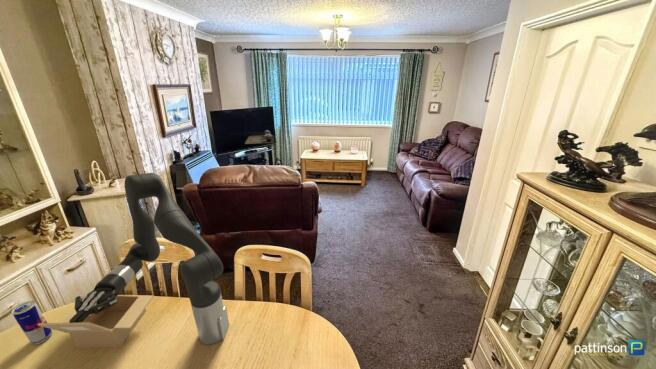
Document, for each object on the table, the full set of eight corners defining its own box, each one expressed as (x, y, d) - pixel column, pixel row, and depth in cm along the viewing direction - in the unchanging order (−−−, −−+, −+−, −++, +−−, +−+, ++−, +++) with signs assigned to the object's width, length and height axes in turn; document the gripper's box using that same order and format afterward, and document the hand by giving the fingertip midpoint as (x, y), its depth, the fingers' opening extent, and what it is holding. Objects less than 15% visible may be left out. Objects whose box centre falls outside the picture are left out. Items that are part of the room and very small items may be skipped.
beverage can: (39, 347, 83) (18, 315, 77) (27, 343, 84) (6, 311, 78) (57, 333, 88) (39, 301, 82) (45, 330, 89) (27, 298, 83)
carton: (159, 310, 97) (154, 294, 94) (136, 346, 84) (128, 328, 81) (95, 311, 96) (87, 295, 93) (60, 347, 83) (50, 330, 80)
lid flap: (90, 322, 72) (88, 324, 72) (112, 330, 81) (111, 332, 80) (38, 323, 72) (37, 325, 71) (67, 330, 80) (66, 333, 80)
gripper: (93, 272, 89) (44, 315, 73) (132, 273, 89) (91, 315, 73) (100, 288, 92) (54, 333, 76) (137, 288, 92) (99, 332, 76)
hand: (72, 324), depth 75 cm, fingers closed
